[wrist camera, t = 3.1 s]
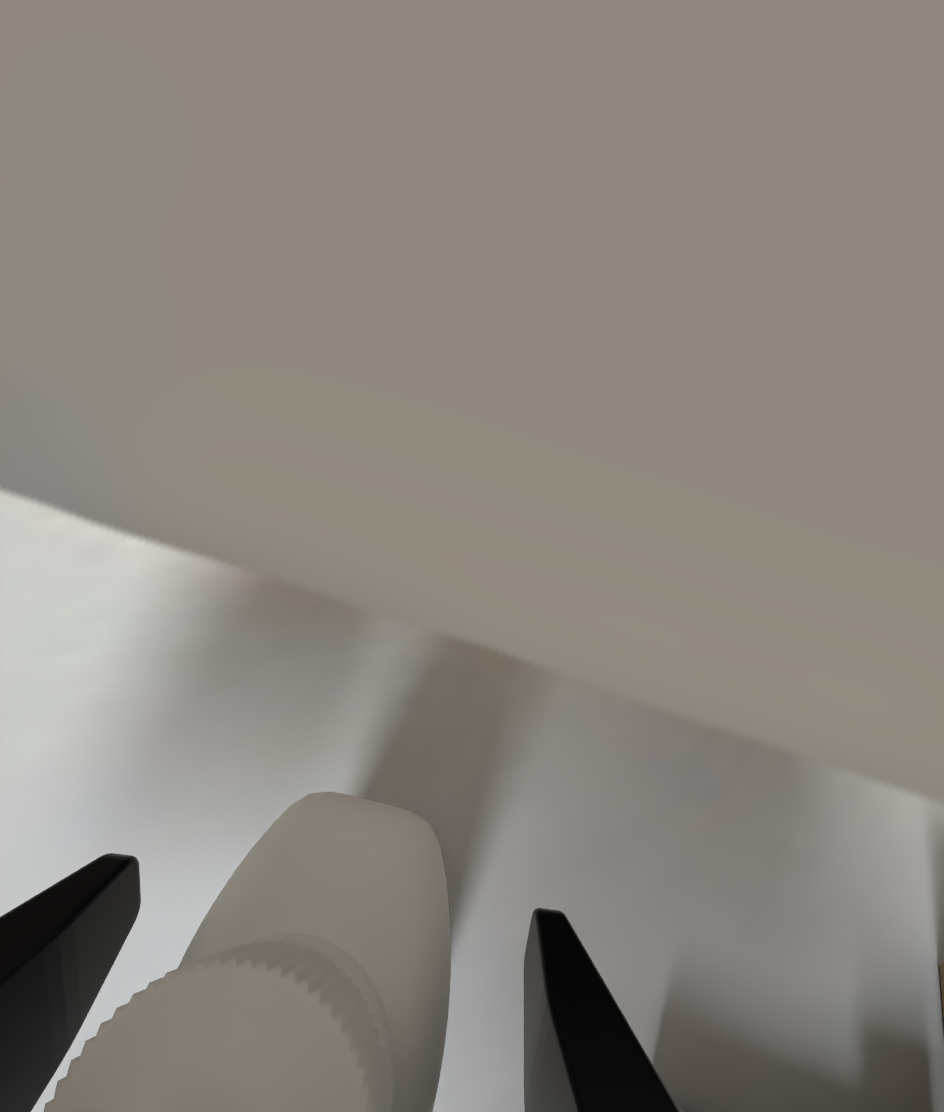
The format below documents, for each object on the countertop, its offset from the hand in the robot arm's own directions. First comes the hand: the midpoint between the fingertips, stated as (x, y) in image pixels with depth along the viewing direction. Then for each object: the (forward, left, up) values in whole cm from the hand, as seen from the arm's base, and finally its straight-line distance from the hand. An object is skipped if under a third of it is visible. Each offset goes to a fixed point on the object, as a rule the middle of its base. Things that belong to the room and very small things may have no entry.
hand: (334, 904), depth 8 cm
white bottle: (-1, +1, -7) cm, 7 cm away
